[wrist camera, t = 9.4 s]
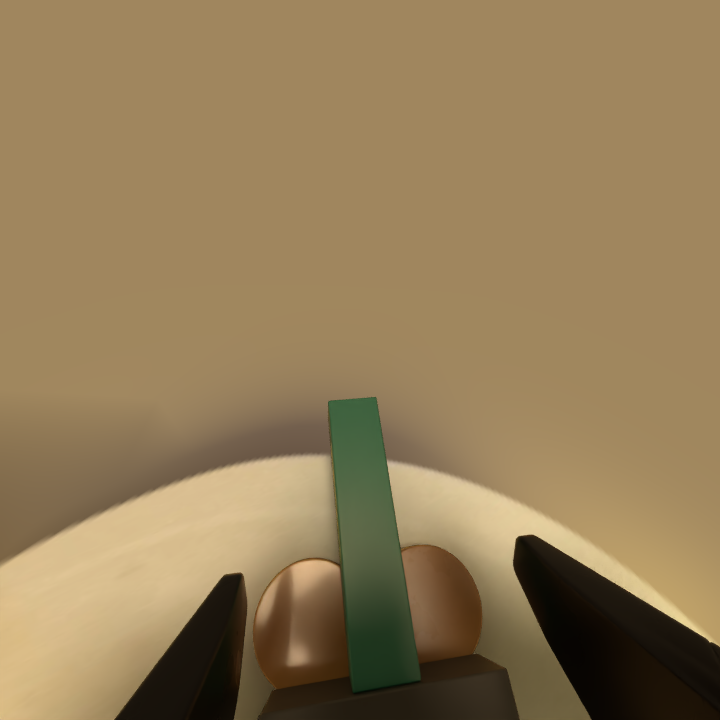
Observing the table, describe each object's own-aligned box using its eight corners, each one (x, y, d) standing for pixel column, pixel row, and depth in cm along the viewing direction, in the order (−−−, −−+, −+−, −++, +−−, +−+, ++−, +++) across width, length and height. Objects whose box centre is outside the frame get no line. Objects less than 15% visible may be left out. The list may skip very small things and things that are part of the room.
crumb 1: (387, 622, 13) (392, 626, 13) (303, 723, 12) (301, 736, 11) (320, 535, 15) (319, 533, 14) (235, 616, 13) (229, 620, 12)
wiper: (525, 740, 10) (435, 389, 15) (258, 797, 9) (264, 403, 14) (491, 711, 12) (422, 411, 17) (271, 756, 11) (272, 425, 16)
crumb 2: (491, 595, 14) (502, 598, 13) (435, 701, 12) (444, 712, 12) (411, 523, 15) (416, 521, 14) (349, 611, 13) (350, 615, 13)
